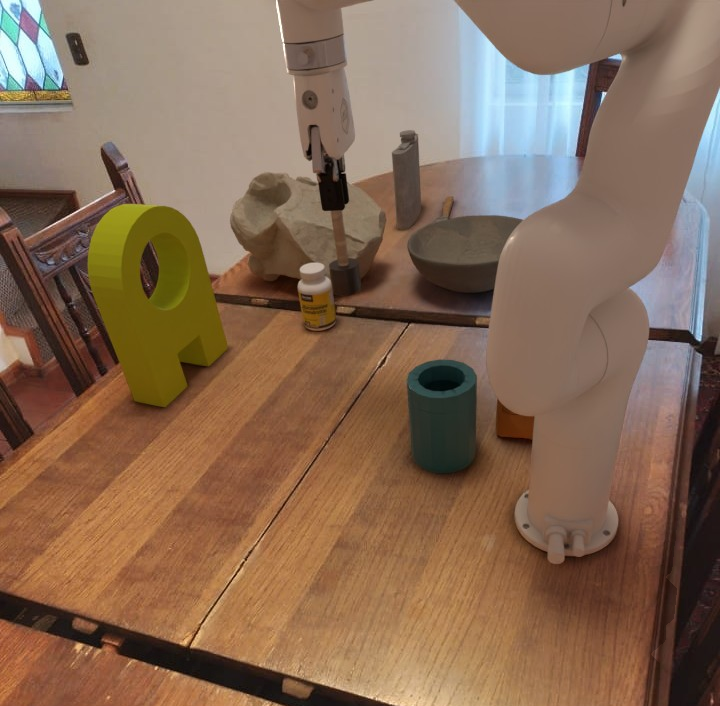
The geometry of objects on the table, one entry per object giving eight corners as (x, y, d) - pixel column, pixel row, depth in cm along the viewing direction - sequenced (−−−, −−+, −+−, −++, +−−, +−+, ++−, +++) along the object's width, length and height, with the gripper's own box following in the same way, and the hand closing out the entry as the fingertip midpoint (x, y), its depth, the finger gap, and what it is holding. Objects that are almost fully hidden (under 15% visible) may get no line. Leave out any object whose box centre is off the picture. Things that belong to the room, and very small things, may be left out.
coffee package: (572, 402, 105) (589, 268, 90) (553, 450, 96) (568, 311, 82) (509, 391, 108) (515, 261, 94) (486, 437, 100) (489, 302, 86)
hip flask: (410, 205, 176) (405, 122, 163) (425, 205, 175) (422, 121, 162) (395, 230, 164) (389, 142, 152) (411, 230, 163) (407, 141, 150)
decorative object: (165, 407, 116) (103, 236, 96) (134, 401, 118) (68, 233, 99) (228, 348, 129) (185, 187, 110) (199, 343, 131) (153, 185, 112)
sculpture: (346, 285, 167) (248, 200, 158) (414, 210, 147) (307, 109, 139) (306, 347, 150) (195, 255, 142) (378, 272, 130) (253, 161, 122)
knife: (442, 196, 175) (453, 196, 174) (442, 201, 175) (453, 200, 175) (425, 248, 153) (438, 247, 152) (425, 252, 153) (438, 252, 153)
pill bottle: (297, 329, 132) (287, 273, 124) (314, 313, 136) (305, 258, 128) (326, 334, 129) (317, 277, 122) (342, 318, 133) (335, 262, 126)
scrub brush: (357, 295, 100) (341, 169, 89) (329, 296, 101) (309, 170, 90) (364, 282, 103) (349, 158, 92) (336, 283, 104) (318, 160, 93)
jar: (472, 475, 94) (472, 399, 86) (407, 471, 97) (401, 396, 88) (478, 434, 101) (479, 360, 93) (417, 431, 103) (413, 358, 95)
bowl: (398, 312, 133) (395, 263, 126) (421, 255, 152) (419, 210, 145) (536, 315, 126) (540, 264, 120) (541, 255, 145) (545, 208, 139)
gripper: (328, 66, 76) (348, 227, 88) (359, 40, 88) (373, 186, 99) (266, 71, 78) (294, 229, 90) (304, 46, 89) (324, 188, 101)
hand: (335, 205), depth 94 cm, fingers closed on scrub brush
